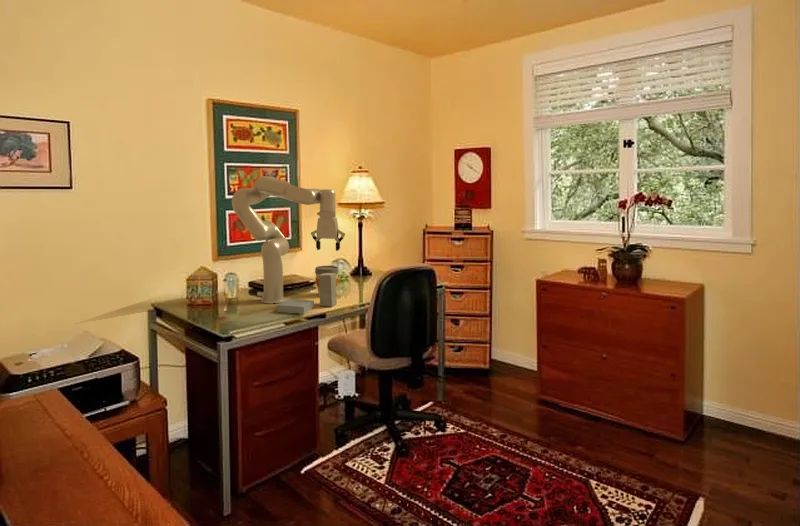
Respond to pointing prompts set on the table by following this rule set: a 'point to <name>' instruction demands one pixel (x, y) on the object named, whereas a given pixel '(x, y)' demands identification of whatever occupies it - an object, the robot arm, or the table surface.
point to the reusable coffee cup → (325, 269)
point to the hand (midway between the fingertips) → (328, 250)
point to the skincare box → (327, 289)
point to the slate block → (296, 306)
